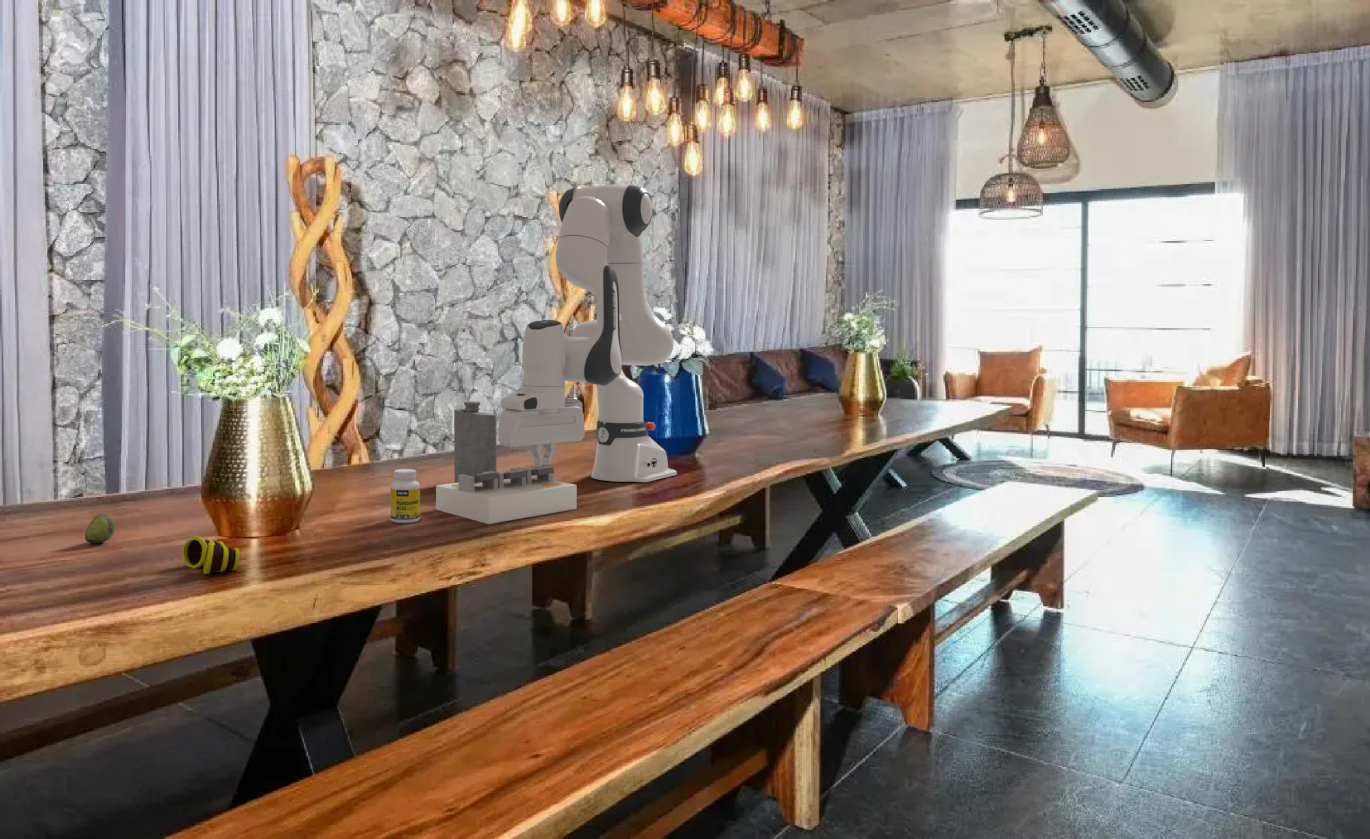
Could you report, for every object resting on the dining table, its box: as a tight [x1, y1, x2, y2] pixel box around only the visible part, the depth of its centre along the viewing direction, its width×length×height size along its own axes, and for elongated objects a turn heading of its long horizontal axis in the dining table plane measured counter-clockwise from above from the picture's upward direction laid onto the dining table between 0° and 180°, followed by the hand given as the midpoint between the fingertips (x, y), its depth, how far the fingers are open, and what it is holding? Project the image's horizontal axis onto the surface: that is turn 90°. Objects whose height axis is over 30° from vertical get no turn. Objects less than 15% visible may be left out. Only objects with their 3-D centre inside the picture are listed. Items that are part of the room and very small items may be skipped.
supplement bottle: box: [390, 468, 421, 524], centre depth 183 cm, size 5×5×10 cm
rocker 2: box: [503, 470, 527, 479], centre depth 195 cm, size 4×8×1 cm, turn 47°
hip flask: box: [453, 400, 498, 483], centre depth 218 cm, size 16×4×20 cm, turn 42°
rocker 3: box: [530, 466, 555, 476], centre depth 200 cm, size 4×8×1 cm, turn 47°
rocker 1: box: [458, 471, 499, 484], centre depth 190 cm, size 4×8×1 cm, turn 47°
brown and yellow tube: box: [181, 535, 241, 575], centre depth 147 cm, size 10×5×5 cm, turn 48°
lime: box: [84, 513, 116, 545], centre depth 161 cm, size 4×5×5 cm
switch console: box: [435, 465, 578, 525], centre depth 195 cm, size 22×18×8 cm
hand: (543, 465), depth 198 cm, fingers closed
